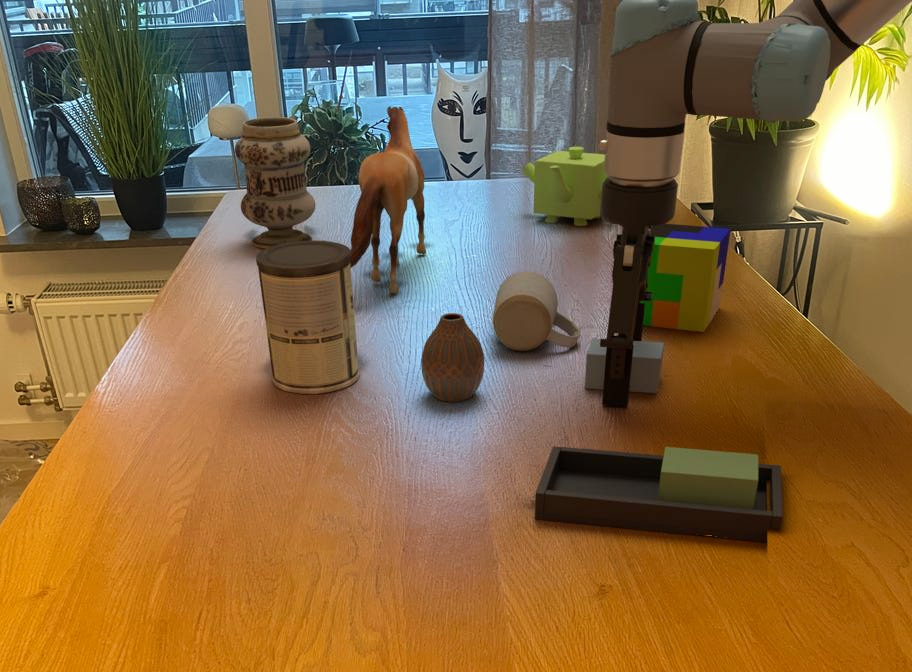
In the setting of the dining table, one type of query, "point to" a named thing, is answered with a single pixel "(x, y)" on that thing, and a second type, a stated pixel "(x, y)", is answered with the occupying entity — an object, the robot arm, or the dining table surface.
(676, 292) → the puzzle toy
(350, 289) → the coffee can
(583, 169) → the kettle
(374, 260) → the horse figurine
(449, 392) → the vase
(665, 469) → the green rectangular block
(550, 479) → the black rectangular tray
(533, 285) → the ceramic mug
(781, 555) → the dining table surface
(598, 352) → the grey block
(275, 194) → the apothecary jar
